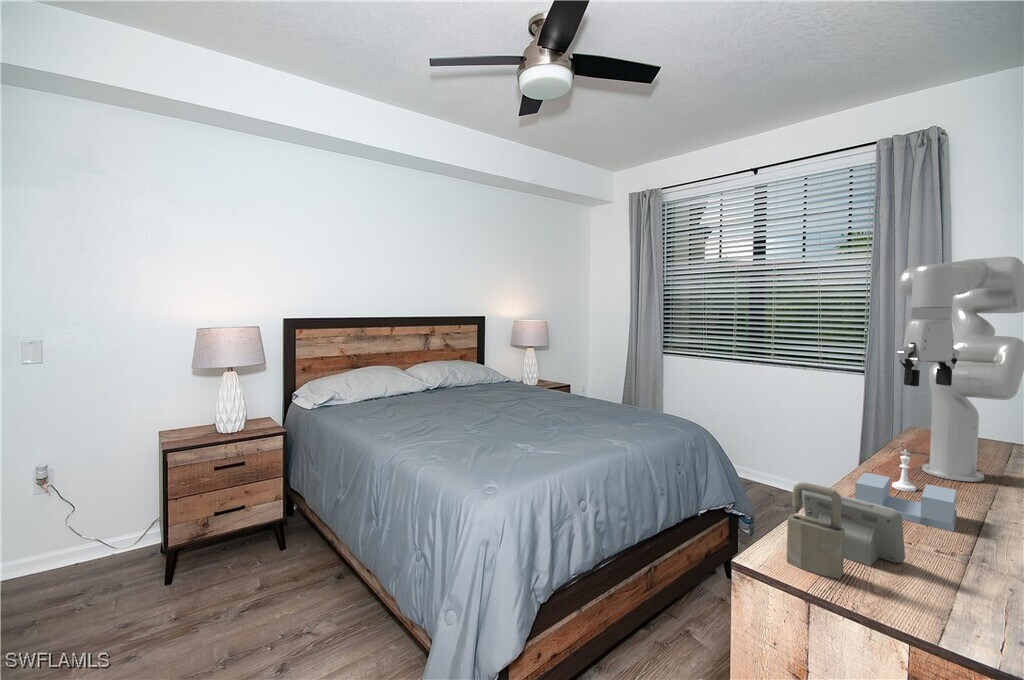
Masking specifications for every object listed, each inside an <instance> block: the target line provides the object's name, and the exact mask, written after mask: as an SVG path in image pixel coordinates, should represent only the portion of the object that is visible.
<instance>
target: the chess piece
mask: <svg viewBox="0 0 1024 680" xmlns="http://www.w3.org/2000/svg"><path fill="white" fill-rule="evenodd" d="M900 454H901V456H900V461H901V463H902V464H899V467H900V468H901V469H902V470H901V473H900V474H901V475H900V478H899V479H898V481H893V482H892V484H891V487H892V488H893V487H894V489H896V490H898V491H902V492H903V491H904V492H910V493H911V492H916V491H917V486H916V485H914V484H912V483H911V482H910V481H909V473H908V469H910V468H911V466H910V465H909V463H910V460H911V457H909V456H907V455H911V453H910V452H908V450H907V449H904V450H903V451H900ZM902 454H903V455H902Z"/></svg>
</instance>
